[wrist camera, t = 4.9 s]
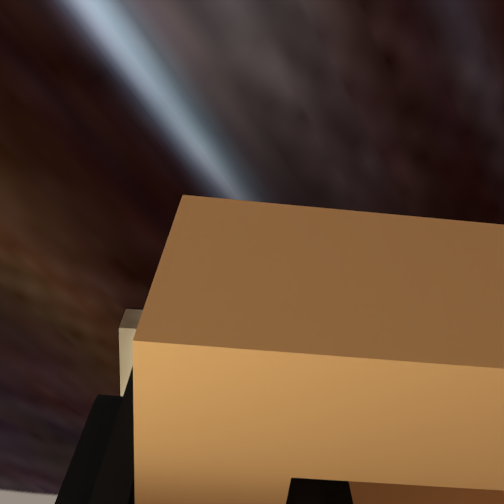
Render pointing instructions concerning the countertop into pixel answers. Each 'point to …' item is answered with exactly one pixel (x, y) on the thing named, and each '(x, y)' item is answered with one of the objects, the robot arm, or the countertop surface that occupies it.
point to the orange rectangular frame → (320, 357)
